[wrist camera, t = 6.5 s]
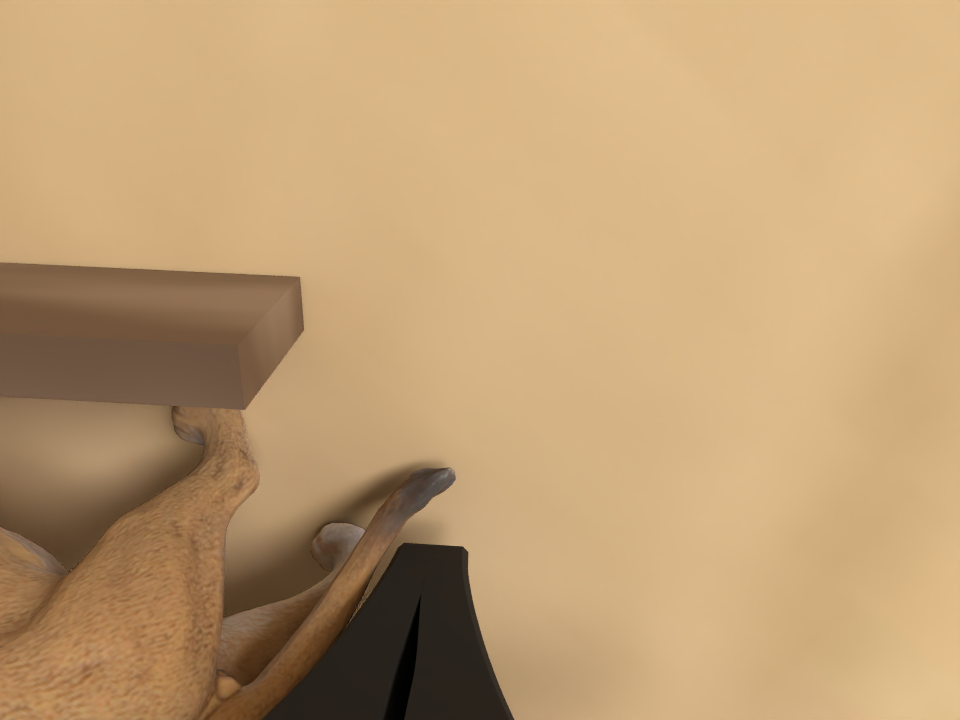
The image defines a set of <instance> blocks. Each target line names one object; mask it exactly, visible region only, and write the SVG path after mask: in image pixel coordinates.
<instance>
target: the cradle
mask: <svg viewBox="0 0 960 720" xmlns="http://www.w3.org/2000/svg"><path fill="white" fill-rule="evenodd" d="M303 331H304V324H303V311H302V299H301V286H300V277H289V276H268V275H247V274H226V273H205V272H184V271H163V270H143V269H122V268H101V267H80V266H59V265H38V264H17V263H0V396H5V397H23V398H41V399H59V400H77V401H95V402H113V403H131V404H149V405H167V406H185V407H203V408H221V409H240V410H245V409H246V408H247V406H248V405H249V404H250V402H251V401H252V400H253V398H254V397H255V395H256V394H257V393H258V391H259V390H260V389H261V387H262V386H263V385H264V383H265V382H266V381H267V379H268V378H269V377H270V375H271V374H272V373H273V371H274V370H275V368H276V367H277V366H278V364H279V363H280V362H281V360H282V359H283V358H284V356H285V355H286V354H287V352H288V351H289V350H290V348H291V347H292V345H293V344H294V343H295V341H296V340H297V339H298V337H299V336H300V335H301V333H302V332H303Z"/></svg>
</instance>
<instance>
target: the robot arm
mask: <svg viewBox="0 0 960 720" xmlns="http://www.w3.org/2000/svg"><path fill="white" fill-rule="evenodd" d="M261 720H514V718H513V716H512V714H511V712H510V709H509V707H508V705H507V703H506V700H505V698H504V696H503V693H502V691H501V689H500V686H499V684H498V681H497V679H496V676H495V673H494V671H493V668H492V665H491V662H490V659H489V657H488V654H487V651H486V648H485V645H484V641H483V638H482V635H481V631H480V628H479V624H478V620H477V617H476V613H475V609H474V605H473V600H472V595H471V589H470V584H469V576H468V551H467V550H466V549H465V548H464V547H461V546H445V545H429V544H413V543H403V544H402V545H401V546H400V547H398V549H397V551H396V553H395V555H394V557H393V558H392V560H391V562H390V564H389V565H388V567H387V569H386V571H385V572H384V574H383V575H382V577H381V579H380V580H379V582H378V583H377V585H376V586H375V588H374V589H373V591H372V592H371V594H370V595H369V597H368V598H367V599H366V601H365V602H364V604H363V605H362V606H361V608H360V609H359V611H358V612H357V613H356V615H355V616H354V618H353V619H352V620H351V622H350V623H349V624H348V626H347V627H346V628H345V629H344V631H343V632H342V633H341V634H340V636H339V637H338V638H337V639H336V641H335V642H334V643H333V644H332V645H331V647H330V648H329V649H328V650H327V652H326V653H325V654H324V655H323V657H322V658H321V659H320V660H319V661H318V662H317V663H316V665H315V666H314V667H313V668H312V669H311V670H310V671H309V672H308V673H307V675H306V676H305V677H304V678H303V679H302V680H301V681H300V682H299V683H298V684H297V685H296V686H295V687H294V688H293V689H292V690H291V691H290V692H289V693H288V694H287V695H286V696H285V697H284V698H283V699H282V700H281V701H280V702H279V703H278V704H277V705H276V706H275V707H274V708H273V709H272V710H271V711H270V712H269V713H268V714H267V715H266V716H265V717H263V718H262V719H261Z"/></svg>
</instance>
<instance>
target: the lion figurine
mask: <svg viewBox="0 0 960 720" xmlns="http://www.w3.org/2000/svg"><path fill="white" fill-rule="evenodd" d="M172 420H173V423H174V429H175V432H176V434H177V435H178V436H179V437H180V438H182V439H184V440H186V441H189V442H193V443H197V444H201V445H204V452H203V456H202V458H201V461H200V463H199V464H198V466H197V467H196V468H195V469H194V470H193V471H192V472H191V473H190V474H189V475H187V476H186V477H184V478H183V479H181V480H179V481H178V482H176V483H174V484H173V485H171V486H170V487H168V488H167V489H165V490H164V491H162V492H161V493H160V494H158V495H156V496H155V497H153V498H152V499H150V500H148V501H147V502H145V503H143V504H141V505H139V506H137V507H136V508H134V509H132V510H130V511H129V512H127V513H126V514H124V515H123V516H121V517H120V518H119V519H118V520H117V521H115V522H114V523H113V524H112V525H111V526H110V527H109V528H108V529H107V531H106V532H105V533H104V535H103V536H102V537H101V538H100V540H99V541H98V543H97V544H96V545H95V546H94V547H93V549H92V550H91V551H90V552H89V553H88V554H87V555H86V556H85V557H84V559H83V560H82V561H81V562H80V563H79V564H78V565H77V566H76V567H75V568H74V569H73V570H72V571H71V572H70V573H69V572H68V571H67V570H66V569H65V568H64V567H63V566H62V565H61V564H60V562H59V561H58V560H57V559H56V558H55V557H53V556H52V555H51V554H50V553H49V552H47V551H46V550H45V549H43V548H42V547H40V546H38V545H37V544H35V543H33V542H31V541H30V540H28V539H26V538H24V537H23V536H21V535H19V534H17V533H14V532H11V531H8V530H5V529H3V528H1V527H0V720H261V719H262V718H263V717H265V716H266V715H267V714H268V713H269V712H270V711H271V710H272V709H273V708H274V707H275V706H276V705H277V704H278V703H279V702H280V701H281V700H282V699H283V698H284V697H285V696H286V695H287V694H288V693H289V692H290V691H291V690H292V689H293V688H294V687H295V686H296V685H297V684H298V683H299V682H300V681H301V680H302V679H303V678H304V677H305V676H306V675H307V673H308V672H309V671H310V670H311V669H312V668H313V667H314V666H315V665H316V663H317V662H318V661H319V660H320V659H321V658H322V657H323V655H324V654H325V653H326V652H327V650H328V649H329V648H330V647H331V645H332V644H333V643H334V642H335V641H336V639H337V638H338V637H339V636H340V634H341V633H342V632H343V631H344V629H345V627H346V626H347V624H348V623H349V621H350V619H351V617H352V615H353V613H354V612H355V610H356V608H357V606H358V604H359V602H360V600H361V598H362V596H363V594H364V592H365V590H366V588H367V586H368V584H369V582H370V579H371V577H372V575H373V573H374V571H375V569H376V567H377V565H378V563H379V562H380V560H381V558H382V556H383V554H384V552H385V551H386V549H387V548H388V547H389V545H390V544H391V542H392V541H393V540H394V538H395V537H396V536H397V534H398V533H399V531H400V530H401V528H402V527H403V525H404V524H405V522H406V521H407V520H408V519H409V518H410V517H411V516H412V515H414V514H415V513H416V512H418V511H420V510H421V509H422V508H424V507H425V506H426V505H427V504H428V502H429V501H430V500H431V499H432V498H433V497H434V496H436V495H438V494H440V493H442V492H444V491H445V490H446V489H447V488H449V487H450V486H451V485H452V484H453V482H454V481H455V479H456V478H455V472H454V470H452V469H451V468H441V469H422V470H420V471H417V472H415V473H413V474H412V475H411V476H410V477H409V478H408V479H407V480H406V481H404V482H403V483H402V484H401V485H399V487H398V488H397V489H396V490H395V491H394V493H393V494H392V495H391V496H390V497H389V499H388V500H387V501H386V502H385V503H384V504H383V505H382V506H381V507H380V508H379V509H378V511H377V512H376V514H375V516H374V517H373V519H372V521H371V522H370V524H369V526H368V527H367V529H366V531H365V530H364V529H363V528H360V527H358V526H355V525H352V524H348V523H330V524H328V525H326V526H324V527H323V528H322V530H321V531H320V533H319V534H318V535H317V536H316V537H315V539H314V540H313V542H312V544H311V550H310V552H311V554H312V556H313V558H314V559H315V560H317V561H318V562H319V563H320V565H321V566H322V568H324V569H325V570H327V571H330V572H331V573H330V574H329V575H328V576H327V577H325V578H324V579H323V580H321V581H320V582H319V583H317V584H316V585H314V586H313V587H311V588H309V589H307V590H306V591H304V592H302V593H300V594H298V595H296V596H294V597H292V598H289V599H286V600H282V601H278V602H274V603H270V604H267V605H263V606H260V607H257V608H254V609H251V610H247V611H243V612H240V613H237V614H234V615H231V616H228V617H225V618H223V608H224V583H225V542H226V531H227V526H228V524H229V521H230V519H231V517H232V516H233V514H234V512H235V511H236V510H237V508H238V507H239V506H240V505H241V504H242V503H243V502H244V501H245V500H246V499H247V498H248V497H249V496H250V495H251V494H252V493H254V492H255V490H256V488H257V487H258V485H259V480H260V475H259V471H258V467H257V464H256V462H255V460H254V457H253V455H252V451H251V448H250V445H249V442H248V439H247V435H246V430H245V426H244V422H243V419H242V415H241V412H240V410H239V409H221V408H203V407H185V406H173V408H172Z"/></svg>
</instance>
